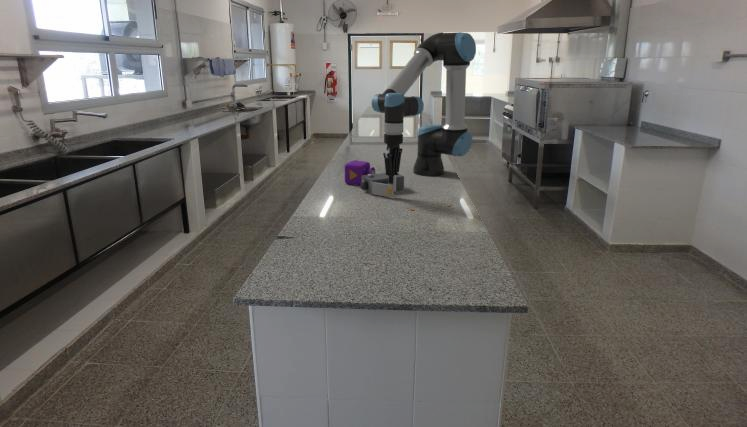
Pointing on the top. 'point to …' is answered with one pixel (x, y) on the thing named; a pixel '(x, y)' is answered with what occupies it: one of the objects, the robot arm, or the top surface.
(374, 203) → the top surface
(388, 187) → the side door
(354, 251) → the top surface
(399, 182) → the box
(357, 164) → the toy camera
